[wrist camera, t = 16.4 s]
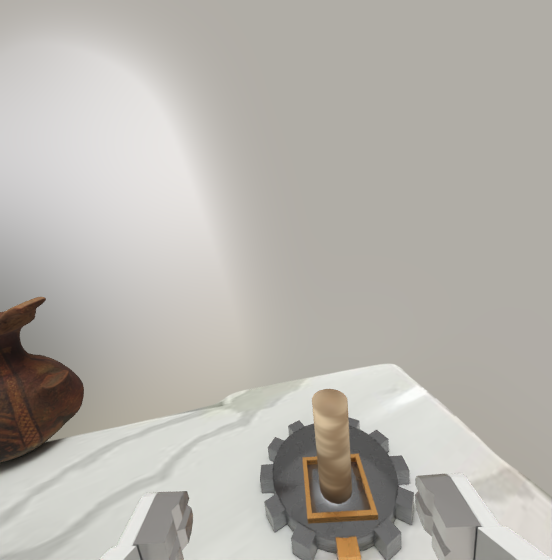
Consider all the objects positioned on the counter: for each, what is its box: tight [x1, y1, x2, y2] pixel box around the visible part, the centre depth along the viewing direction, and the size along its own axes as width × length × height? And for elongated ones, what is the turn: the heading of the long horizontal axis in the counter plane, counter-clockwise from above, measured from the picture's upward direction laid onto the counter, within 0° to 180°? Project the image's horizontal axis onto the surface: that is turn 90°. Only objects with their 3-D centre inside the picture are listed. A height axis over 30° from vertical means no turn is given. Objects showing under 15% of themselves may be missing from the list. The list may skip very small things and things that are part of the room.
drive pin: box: [312, 389, 352, 504], centre depth 35 cm, size 4×4×14 cm
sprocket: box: [260, 418, 414, 560], centre depth 40 cm, size 22×22×3 cm
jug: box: [0, 297, 84, 462], centre depth 54 cm, size 22×22×30 cm
